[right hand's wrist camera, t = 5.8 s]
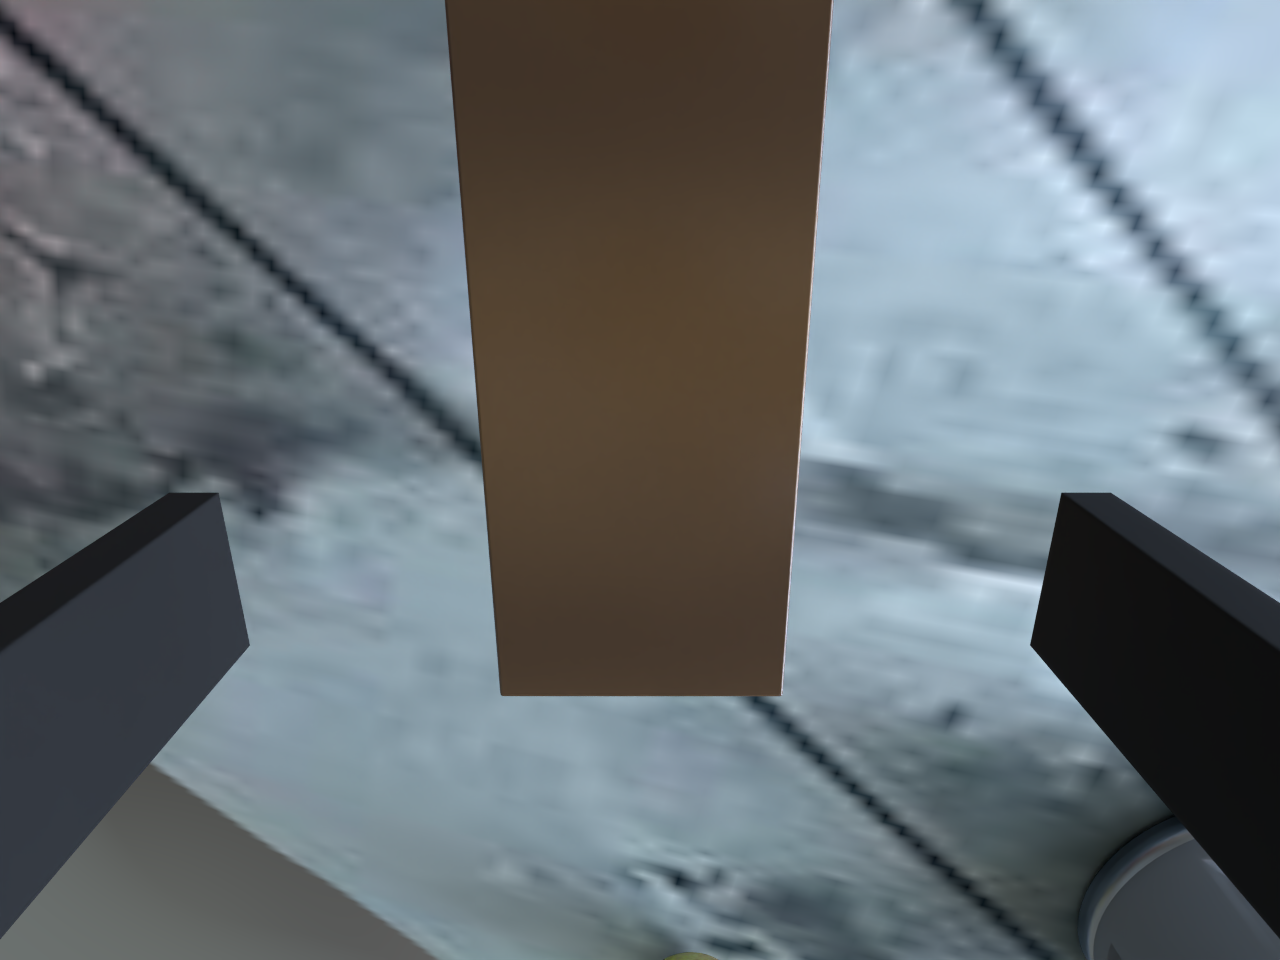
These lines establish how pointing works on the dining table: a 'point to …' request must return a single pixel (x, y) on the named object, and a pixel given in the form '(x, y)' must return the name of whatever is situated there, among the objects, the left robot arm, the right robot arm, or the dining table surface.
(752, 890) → the dining table surface
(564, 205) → the bar
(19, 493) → the dining table surface
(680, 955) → the fruit
